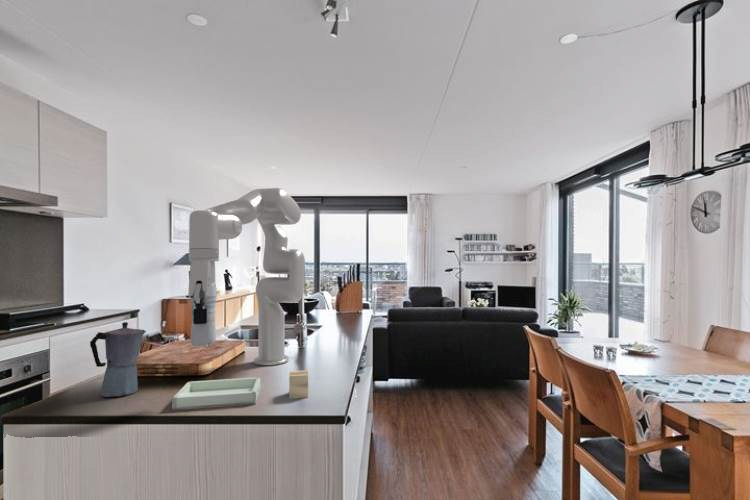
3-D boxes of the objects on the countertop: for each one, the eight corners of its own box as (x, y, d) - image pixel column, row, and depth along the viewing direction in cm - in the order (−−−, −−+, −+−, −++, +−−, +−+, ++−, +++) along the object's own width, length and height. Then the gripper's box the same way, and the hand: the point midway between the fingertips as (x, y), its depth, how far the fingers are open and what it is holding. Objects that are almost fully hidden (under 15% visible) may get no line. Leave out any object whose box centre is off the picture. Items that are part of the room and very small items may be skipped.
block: (289, 392, 108) (289, 371, 109) (307, 391, 109) (307, 370, 110) (289, 398, 103) (289, 376, 104) (308, 397, 104) (308, 375, 105)
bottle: (206, 348, 100) (207, 272, 101) (183, 347, 101) (184, 272, 102) (221, 343, 107) (222, 271, 107) (200, 342, 108) (201, 271, 109)
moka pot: (155, 387, 114) (156, 319, 115) (103, 405, 100) (105, 327, 100) (131, 384, 117) (132, 318, 118) (78, 401, 103) (80, 326, 103)
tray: (187, 392, 109) (188, 381, 109) (260, 387, 113) (260, 377, 113) (172, 410, 95) (172, 398, 96) (255, 404, 99) (255, 392, 99)
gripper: (197, 256, 113) (196, 318, 112) (179, 255, 96) (178, 327, 95) (224, 256, 114) (223, 317, 113) (211, 255, 97) (210, 326, 96)
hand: (203, 321), depth 104 cm, fingers closed on bottle, 5 cm apart
